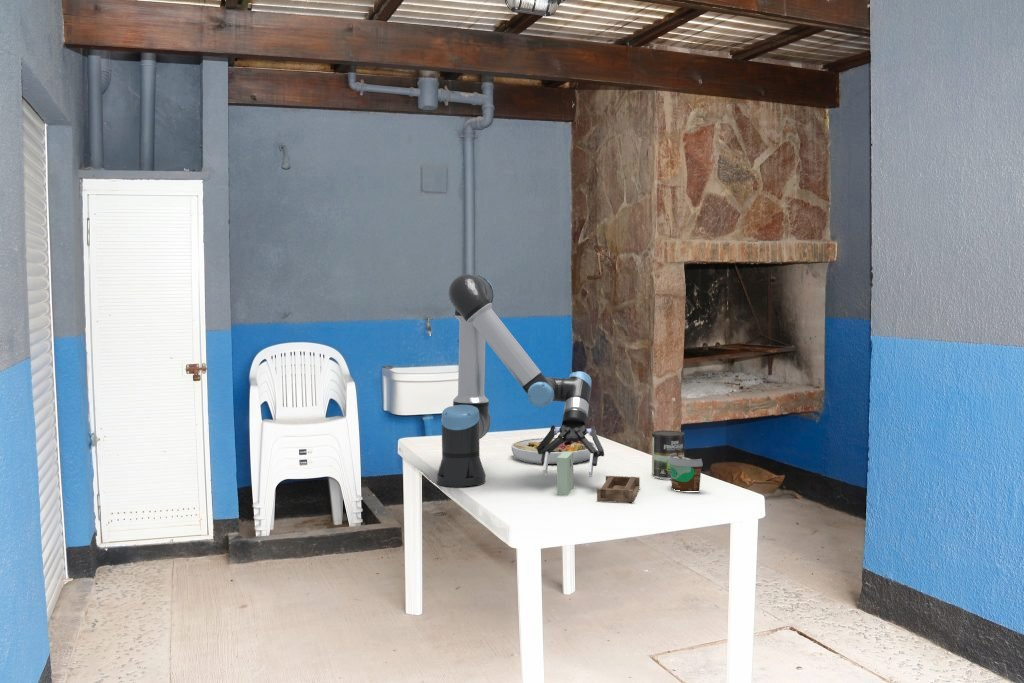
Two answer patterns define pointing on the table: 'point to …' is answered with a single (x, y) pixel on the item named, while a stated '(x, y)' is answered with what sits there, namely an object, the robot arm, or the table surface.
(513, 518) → the table surface
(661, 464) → the coffee can
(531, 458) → the bowl
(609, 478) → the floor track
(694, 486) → the food container
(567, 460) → the door panel
